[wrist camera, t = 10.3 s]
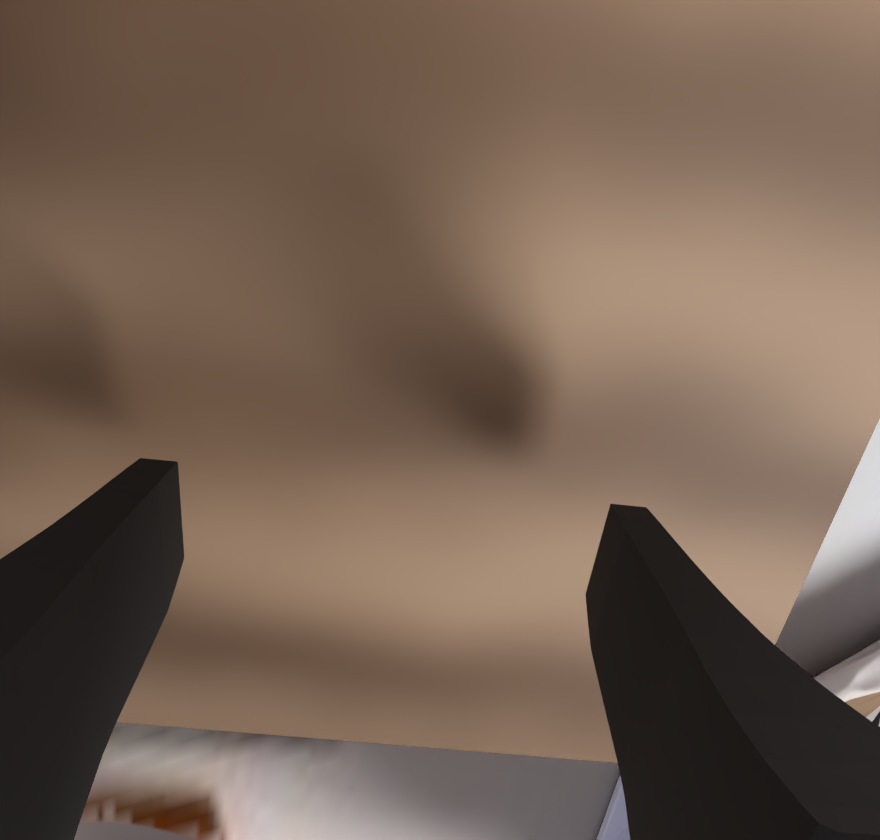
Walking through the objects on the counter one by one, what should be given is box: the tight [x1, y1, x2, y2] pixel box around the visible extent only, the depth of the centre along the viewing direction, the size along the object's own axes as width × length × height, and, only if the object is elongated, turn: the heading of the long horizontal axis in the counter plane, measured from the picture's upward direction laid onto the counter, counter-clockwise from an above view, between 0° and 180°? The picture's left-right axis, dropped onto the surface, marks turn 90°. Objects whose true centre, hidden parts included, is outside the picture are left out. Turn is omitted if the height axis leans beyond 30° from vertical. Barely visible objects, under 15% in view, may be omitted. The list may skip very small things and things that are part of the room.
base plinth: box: [0, 0, 880, 763], centre depth 17 cm, size 18×18×3 cm
